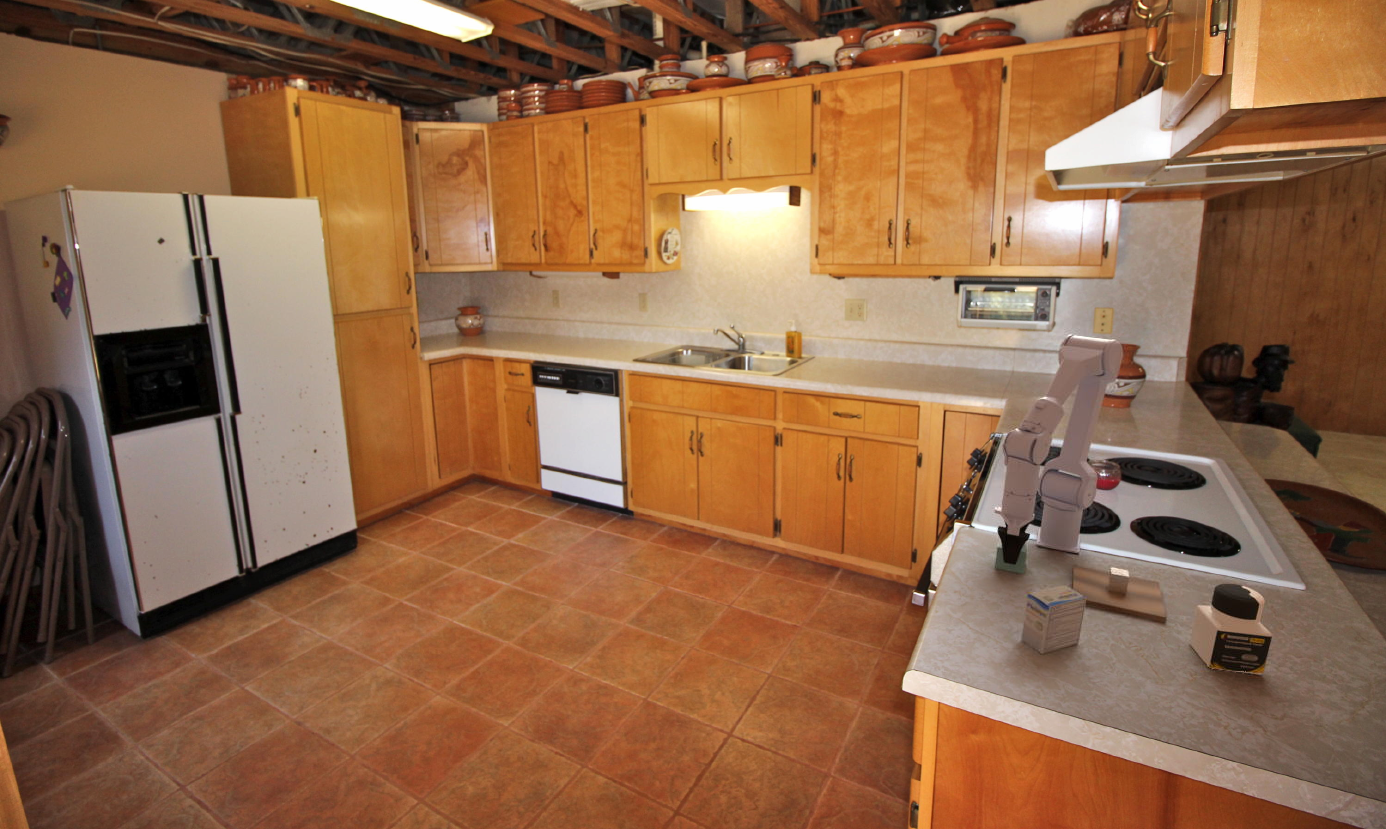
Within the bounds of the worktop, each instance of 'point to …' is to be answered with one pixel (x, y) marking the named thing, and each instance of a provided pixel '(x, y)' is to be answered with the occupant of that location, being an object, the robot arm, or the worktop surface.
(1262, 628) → the medicine bottle
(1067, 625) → the medicine box
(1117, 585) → the wooden block
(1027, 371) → the worktop surface
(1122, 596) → the board
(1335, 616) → the worktop surface
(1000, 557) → the sage green cube
